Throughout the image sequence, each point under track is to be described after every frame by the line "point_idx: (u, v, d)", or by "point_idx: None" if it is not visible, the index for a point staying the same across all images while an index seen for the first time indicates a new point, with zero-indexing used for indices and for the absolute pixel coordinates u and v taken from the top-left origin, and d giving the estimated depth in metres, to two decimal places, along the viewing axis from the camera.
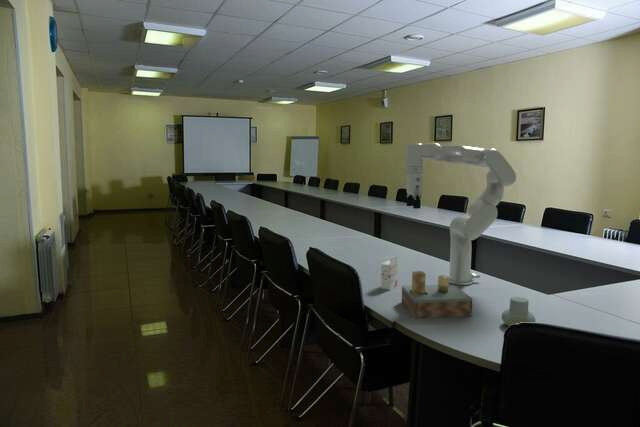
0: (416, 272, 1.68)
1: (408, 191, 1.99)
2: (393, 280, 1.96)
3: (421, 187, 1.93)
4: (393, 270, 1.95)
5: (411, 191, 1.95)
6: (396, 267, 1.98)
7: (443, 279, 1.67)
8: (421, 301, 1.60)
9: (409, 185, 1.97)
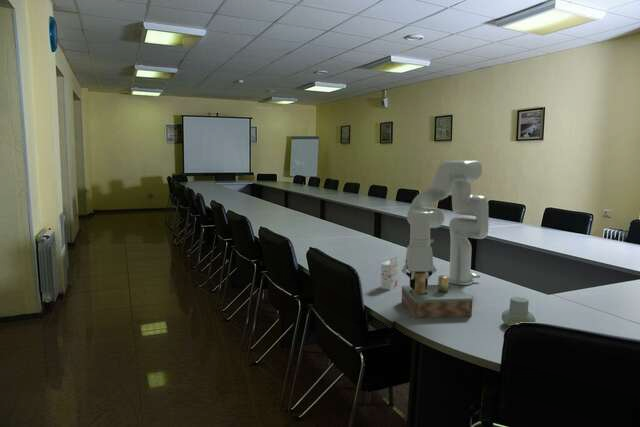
0: (416, 272, 1.68)
1: (418, 268, 1.65)
2: (393, 280, 1.96)
3: None
4: (393, 270, 1.95)
5: (428, 267, 1.65)
6: (396, 267, 1.98)
7: (443, 279, 1.67)
8: (421, 301, 1.60)
9: (423, 261, 1.64)
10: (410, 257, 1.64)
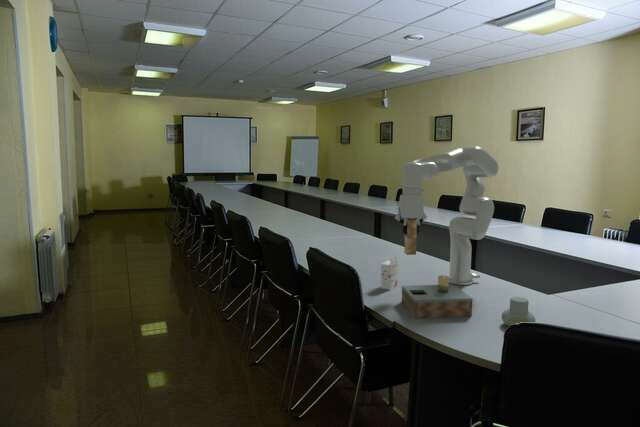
0: (408, 219, 1.84)
1: (409, 215, 1.81)
2: (393, 280, 1.96)
3: None
4: (393, 270, 1.95)
5: (419, 214, 1.82)
6: (396, 267, 1.98)
7: (443, 279, 1.67)
8: (421, 301, 1.60)
9: (414, 208, 1.81)
10: (403, 204, 1.80)
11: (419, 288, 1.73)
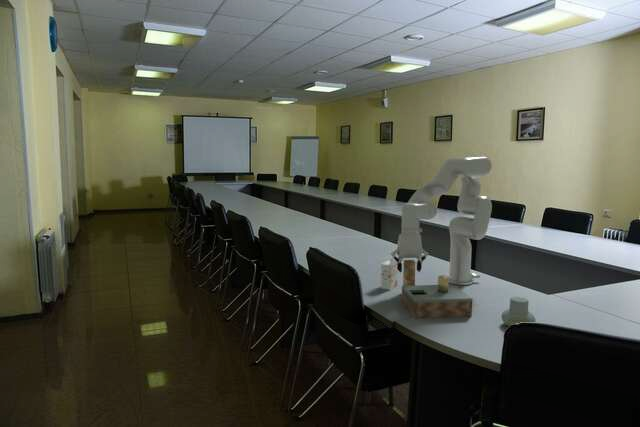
0: (407, 260, 1.87)
1: (408, 255, 1.84)
2: (393, 280, 1.96)
3: None
4: (393, 270, 1.95)
5: (418, 254, 1.84)
6: (396, 267, 1.98)
7: (443, 279, 1.67)
8: (421, 301, 1.60)
9: (413, 248, 1.83)
10: (401, 244, 1.83)
11: (419, 288, 1.73)
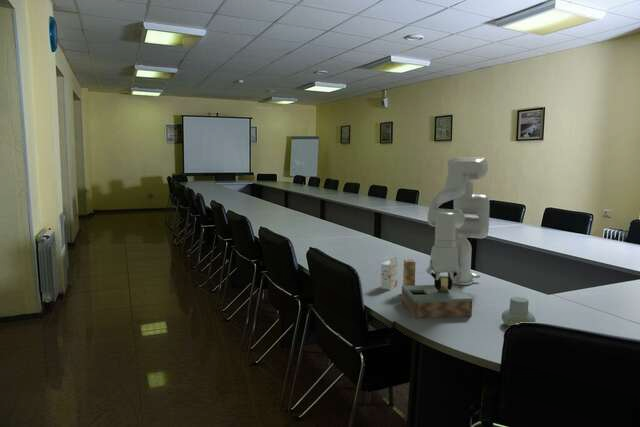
0: (407, 260, 1.87)
1: (443, 269, 1.66)
2: (393, 280, 1.96)
3: None
4: (393, 270, 1.95)
5: (453, 268, 1.66)
6: (396, 267, 1.98)
7: (443, 279, 1.67)
8: (421, 301, 1.60)
9: (448, 262, 1.65)
10: (435, 258, 1.65)
11: (419, 288, 1.73)
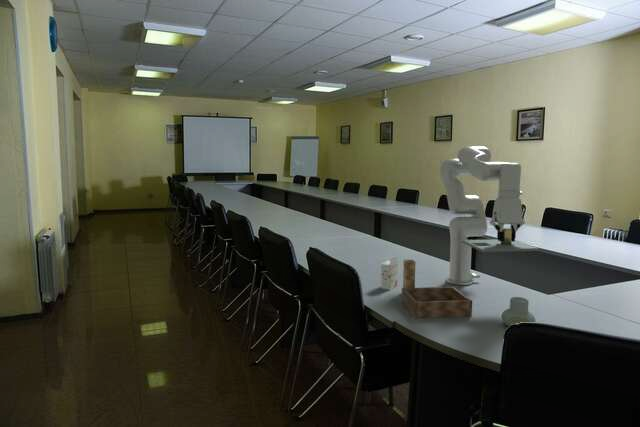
0: (407, 260, 1.87)
1: (507, 220, 1.66)
2: (393, 280, 1.96)
3: None
4: (393, 270, 1.95)
5: (518, 219, 1.66)
6: (396, 267, 1.98)
7: (507, 230, 1.66)
8: (488, 250, 1.59)
9: (513, 213, 1.65)
10: (500, 209, 1.65)
11: (481, 241, 1.73)
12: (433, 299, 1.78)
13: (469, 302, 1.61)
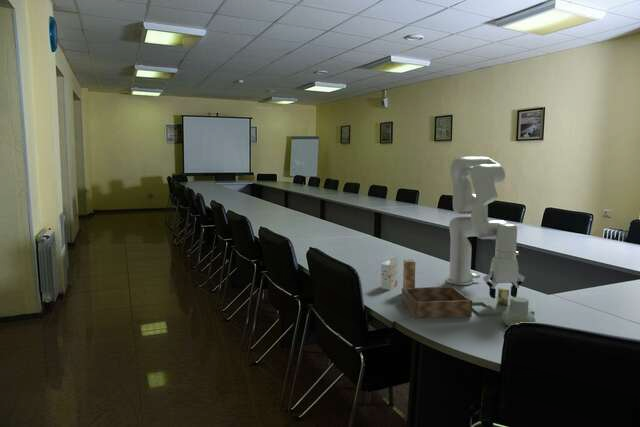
0: (407, 260, 1.87)
1: (504, 280, 1.69)
2: (393, 280, 1.96)
3: None
4: (393, 270, 1.95)
5: (514, 279, 1.69)
6: (396, 267, 1.98)
7: (504, 292, 1.70)
8: (485, 314, 1.63)
9: (509, 273, 1.68)
10: (497, 269, 1.68)
11: (478, 300, 1.76)
12: (433, 299, 1.78)
13: (469, 302, 1.61)
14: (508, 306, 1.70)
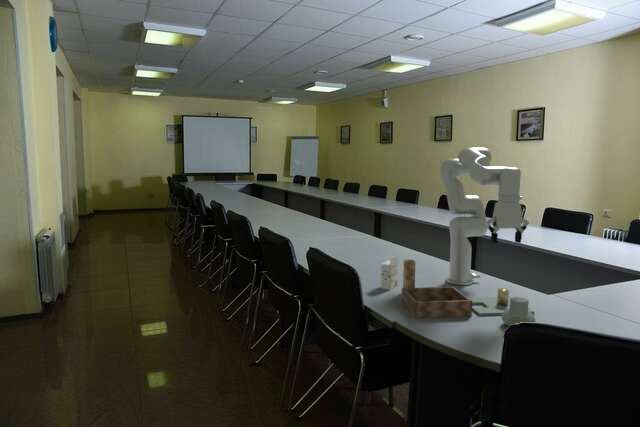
0: (407, 260, 1.87)
1: (507, 225, 1.66)
2: (393, 280, 1.96)
3: None
4: (393, 270, 1.95)
5: (517, 224, 1.66)
6: (396, 267, 1.98)
7: (504, 292, 1.70)
8: (485, 314, 1.63)
9: (512, 217, 1.65)
10: (500, 213, 1.65)
11: (478, 300, 1.76)
12: (433, 299, 1.78)
13: (469, 302, 1.61)
14: (508, 306, 1.70)
